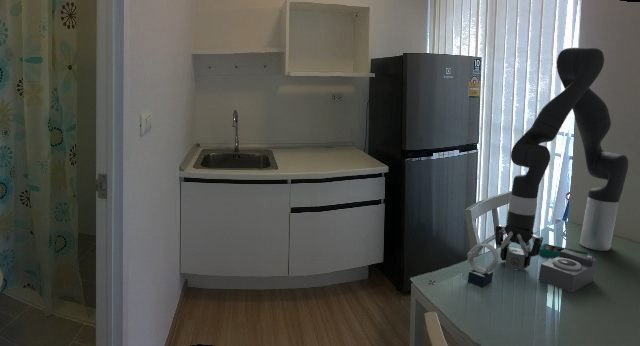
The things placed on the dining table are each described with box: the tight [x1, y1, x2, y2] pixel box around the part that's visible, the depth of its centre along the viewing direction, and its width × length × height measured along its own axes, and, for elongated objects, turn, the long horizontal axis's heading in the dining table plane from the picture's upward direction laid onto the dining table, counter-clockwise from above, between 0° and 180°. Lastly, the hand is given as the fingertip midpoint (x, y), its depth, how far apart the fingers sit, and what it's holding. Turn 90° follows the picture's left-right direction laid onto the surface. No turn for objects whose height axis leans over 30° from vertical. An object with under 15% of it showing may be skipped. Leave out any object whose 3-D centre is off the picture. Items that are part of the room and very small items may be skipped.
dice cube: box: [504, 246, 525, 272], centre depth 137 cm, size 5×5×5 cm
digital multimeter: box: [538, 243, 592, 259], centre depth 147 cm, size 7×15×3 cm, turn 58°
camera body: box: [537, 249, 598, 293], centre depth 128 cm, size 14×9×7 cm, turn 128°
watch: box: [466, 242, 499, 289], centre depth 124 cm, size 6×8×11 cm
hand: (514, 263), depth 137 cm, fingers closed on dice cube, 6 cm apart
